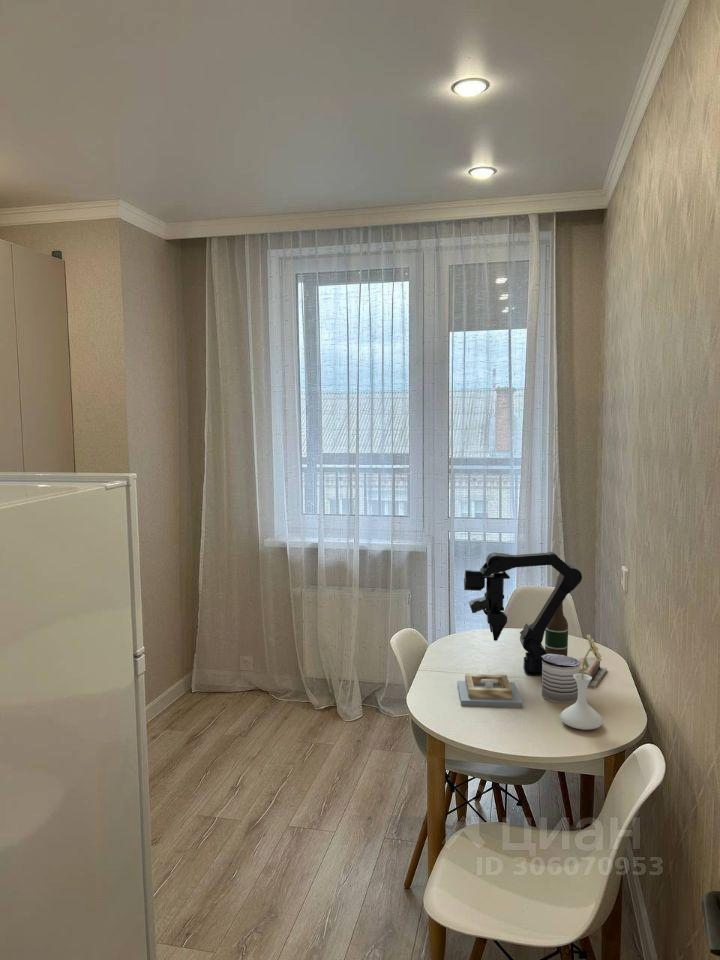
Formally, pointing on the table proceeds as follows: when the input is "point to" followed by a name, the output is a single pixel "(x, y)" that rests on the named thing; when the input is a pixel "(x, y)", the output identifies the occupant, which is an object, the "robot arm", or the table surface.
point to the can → (559, 678)
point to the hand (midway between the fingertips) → (493, 636)
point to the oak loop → (488, 692)
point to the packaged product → (593, 670)
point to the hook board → (477, 701)
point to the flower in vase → (583, 699)
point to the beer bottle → (557, 634)
